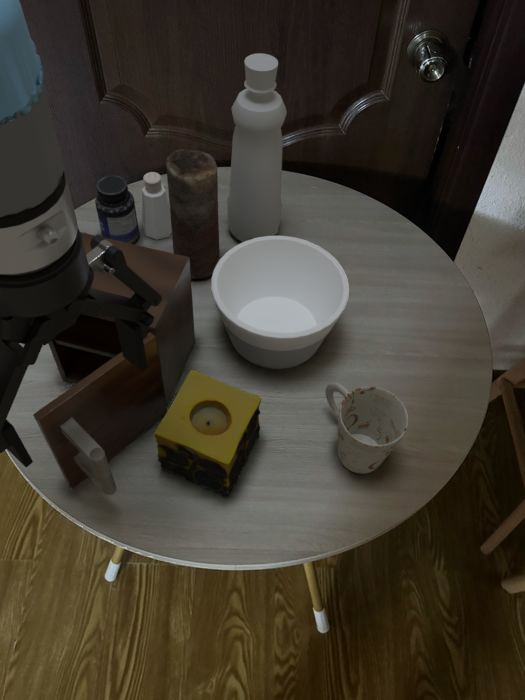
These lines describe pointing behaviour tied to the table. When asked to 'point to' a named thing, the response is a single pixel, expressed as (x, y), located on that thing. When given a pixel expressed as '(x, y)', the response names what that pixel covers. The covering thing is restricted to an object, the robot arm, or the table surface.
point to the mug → (367, 425)
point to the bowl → (279, 298)
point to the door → (103, 417)
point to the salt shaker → (155, 208)
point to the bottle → (256, 152)
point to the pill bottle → (116, 210)
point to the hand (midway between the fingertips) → (81, 406)
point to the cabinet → (169, 316)
